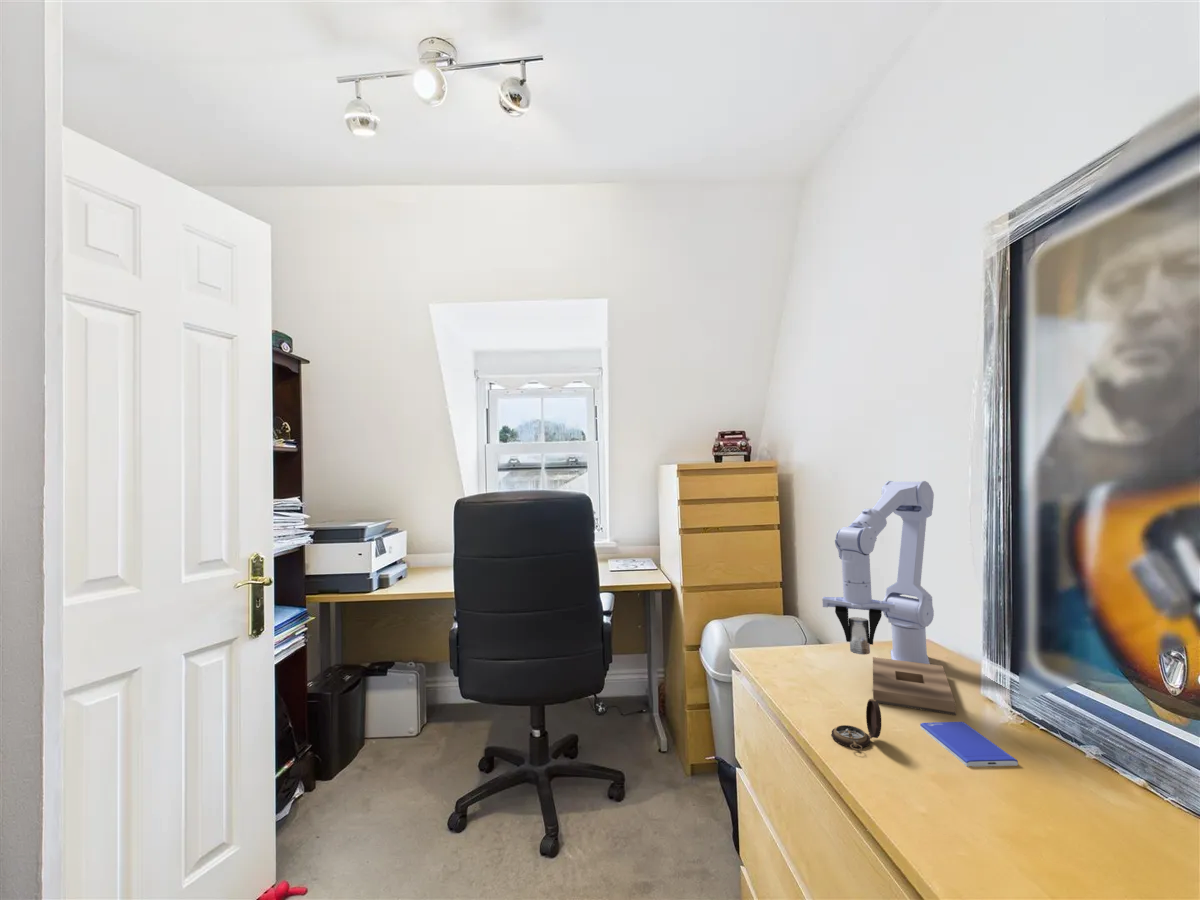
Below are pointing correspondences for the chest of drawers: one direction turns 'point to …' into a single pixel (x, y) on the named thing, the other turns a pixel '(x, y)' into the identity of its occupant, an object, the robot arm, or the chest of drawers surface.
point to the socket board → (912, 685)
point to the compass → (856, 736)
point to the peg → (859, 635)
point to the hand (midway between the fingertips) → (859, 641)
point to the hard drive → (967, 744)
